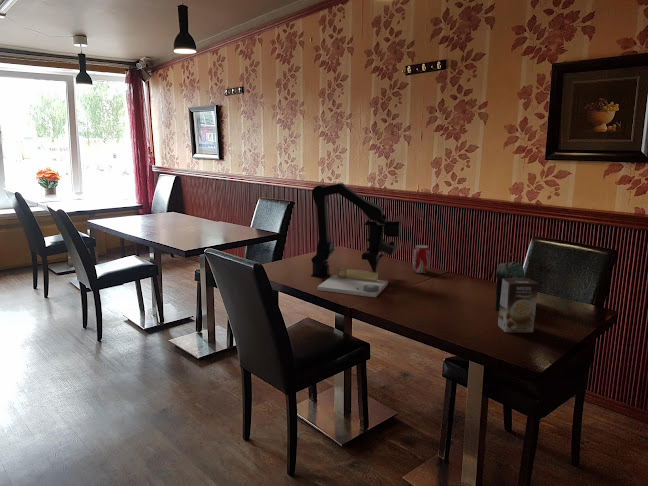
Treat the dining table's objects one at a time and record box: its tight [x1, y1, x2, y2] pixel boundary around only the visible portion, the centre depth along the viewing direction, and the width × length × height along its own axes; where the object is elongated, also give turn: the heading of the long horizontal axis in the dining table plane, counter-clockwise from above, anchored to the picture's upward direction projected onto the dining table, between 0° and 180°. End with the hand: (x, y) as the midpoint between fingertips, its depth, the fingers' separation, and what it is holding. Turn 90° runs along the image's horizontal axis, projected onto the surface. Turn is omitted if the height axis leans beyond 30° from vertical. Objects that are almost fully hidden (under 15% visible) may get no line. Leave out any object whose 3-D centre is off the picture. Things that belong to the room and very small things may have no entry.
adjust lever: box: [337, 267, 379, 281], centre depth 204 cm, size 17×4×4 cm, turn 68°
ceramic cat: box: [495, 252, 526, 312], centre depth 175 cm, size 20×6×20 cm, turn 139°
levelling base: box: [317, 274, 389, 298], centre depth 198 cm, size 24×18×3 cm
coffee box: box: [497, 277, 539, 333], centre depth 154 cm, size 9×6×16 cm
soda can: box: [412, 244, 431, 274], centre depth 219 cm, size 7×7×12 cm
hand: (374, 271), depth 208 cm, fingers closed
